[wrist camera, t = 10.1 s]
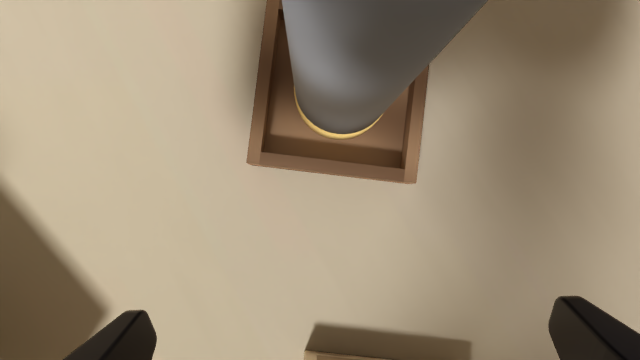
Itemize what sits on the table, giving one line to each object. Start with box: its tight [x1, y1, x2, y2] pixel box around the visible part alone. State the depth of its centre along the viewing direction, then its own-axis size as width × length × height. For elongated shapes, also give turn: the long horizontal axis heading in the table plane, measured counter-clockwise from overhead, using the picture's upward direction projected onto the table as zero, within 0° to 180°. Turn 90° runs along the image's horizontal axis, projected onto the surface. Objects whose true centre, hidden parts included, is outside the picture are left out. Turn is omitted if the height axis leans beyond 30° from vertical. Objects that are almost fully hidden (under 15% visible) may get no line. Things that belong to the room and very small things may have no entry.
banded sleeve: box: [282, 0, 488, 140], centre depth 12 cm, size 5×5×13 cm
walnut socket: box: [247, 0, 429, 184], centre depth 18 cm, size 8×8×2 cm
